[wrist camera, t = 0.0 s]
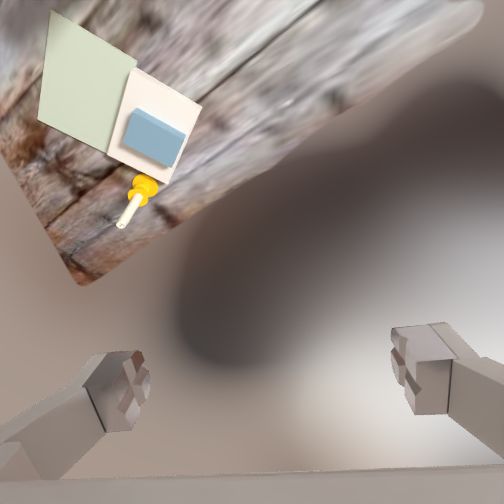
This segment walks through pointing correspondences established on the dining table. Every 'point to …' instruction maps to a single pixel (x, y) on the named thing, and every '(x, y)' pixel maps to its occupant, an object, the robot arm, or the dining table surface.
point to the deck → (159, 106)
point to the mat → (82, 83)
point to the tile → (153, 137)
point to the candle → (138, 196)
